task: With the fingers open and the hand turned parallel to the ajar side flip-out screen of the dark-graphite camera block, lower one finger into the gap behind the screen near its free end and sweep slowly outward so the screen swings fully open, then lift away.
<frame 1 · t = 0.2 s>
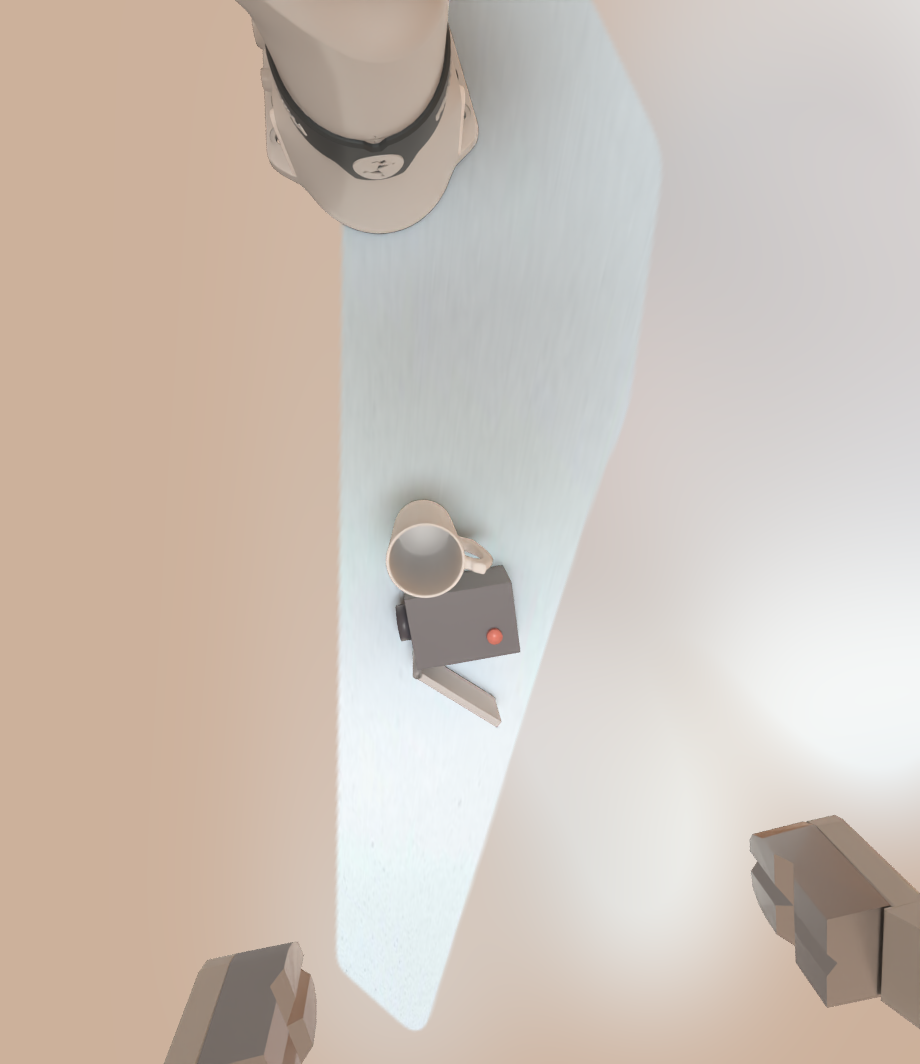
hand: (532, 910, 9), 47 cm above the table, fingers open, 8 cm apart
mug: (437, 530, 56), on the table
side flip-out screen: (455, 687, 58), point 3 cm above the table, hinge at 45.0°
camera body: (459, 606, 58), on the table
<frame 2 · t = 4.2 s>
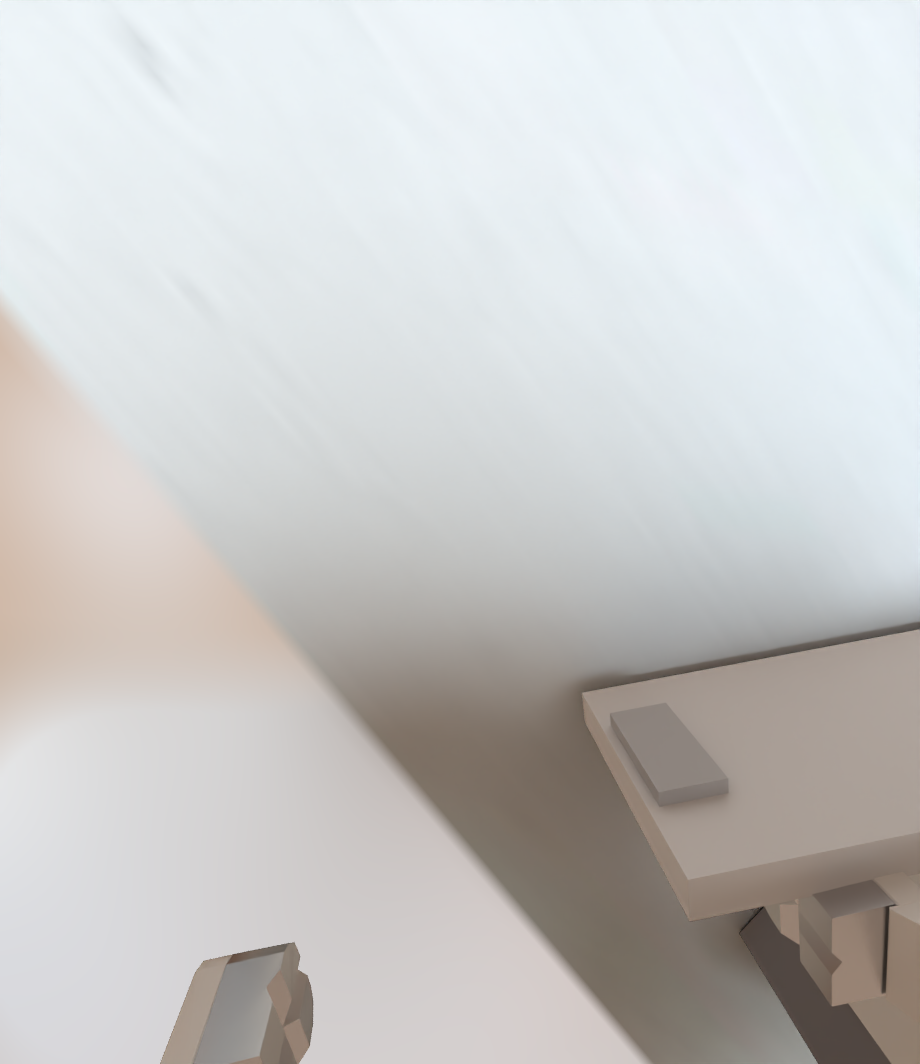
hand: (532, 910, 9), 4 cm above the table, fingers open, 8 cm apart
side flip-out screen: (910, 720, 10), point 3 cm above the table, hinge at 47.0°, touching gripper
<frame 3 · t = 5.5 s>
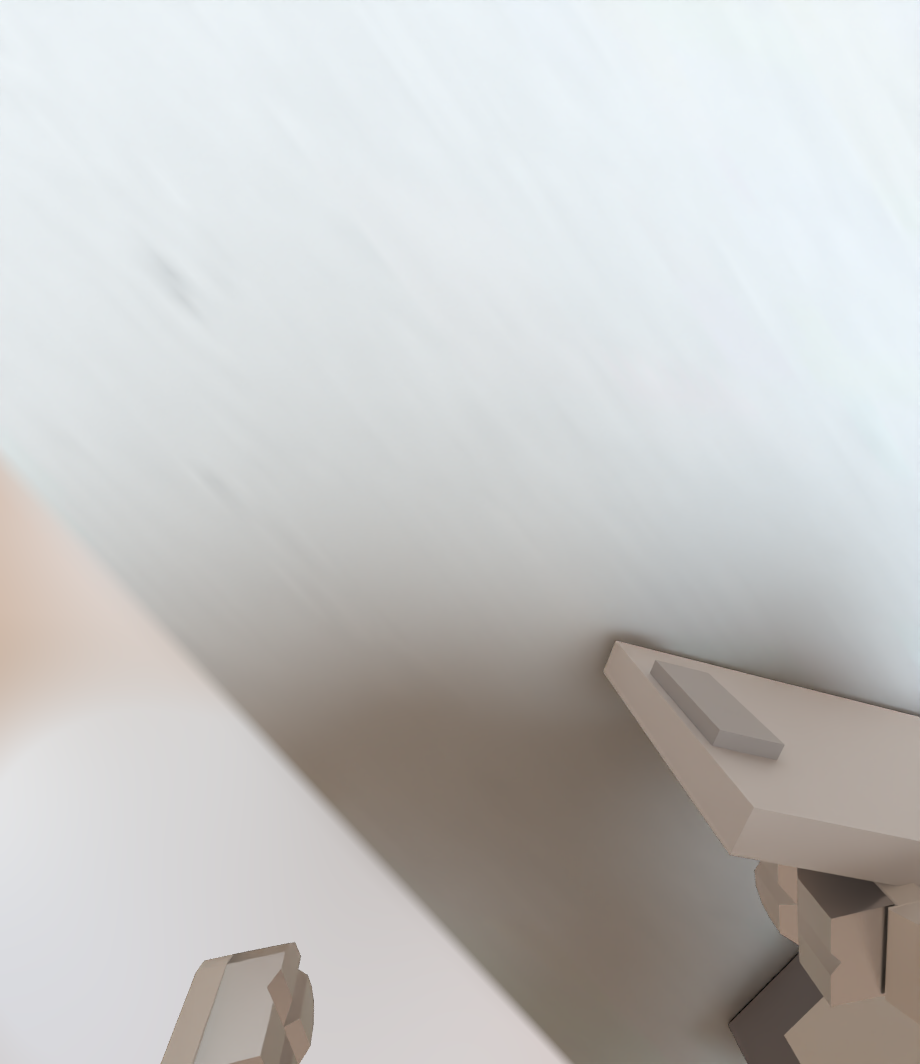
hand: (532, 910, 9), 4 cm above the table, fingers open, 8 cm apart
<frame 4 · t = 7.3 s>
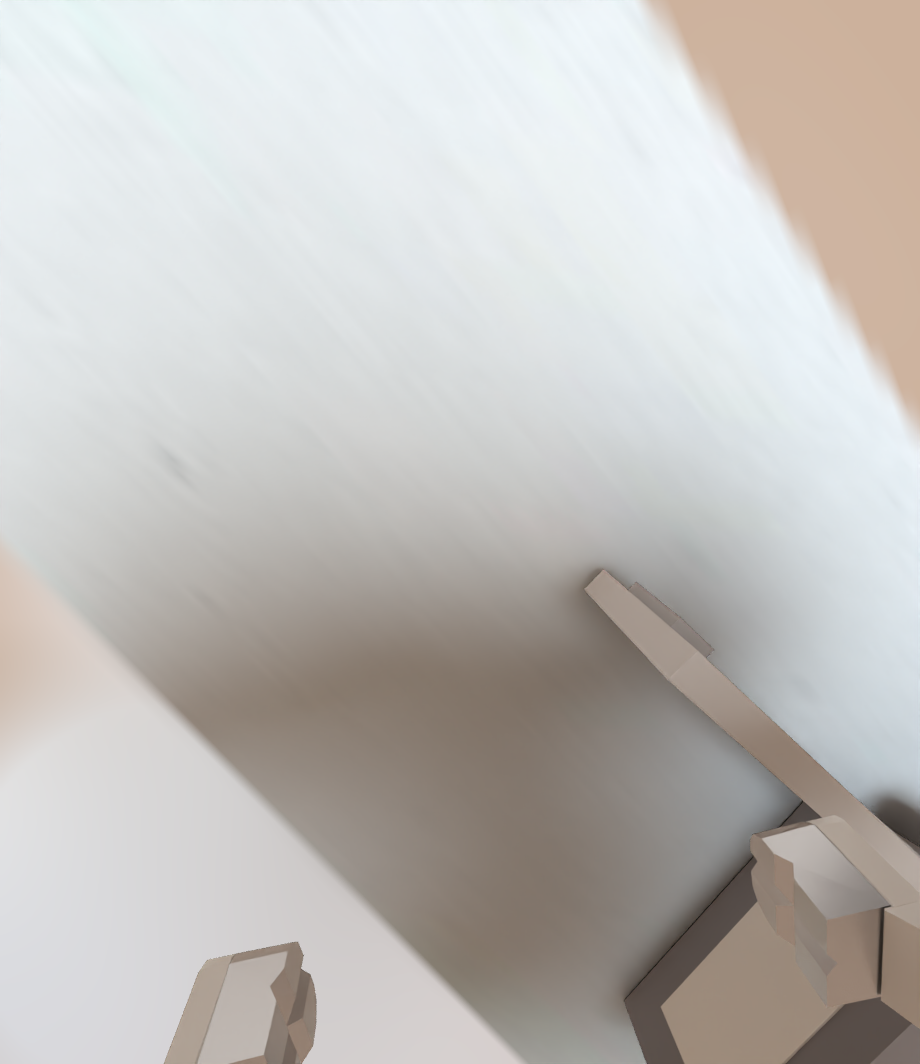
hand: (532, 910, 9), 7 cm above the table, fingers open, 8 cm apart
side flip-out screen: (774, 741, 14), point 3 cm above the table, hinge at 98.5°
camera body: (791, 935, 19), on the table
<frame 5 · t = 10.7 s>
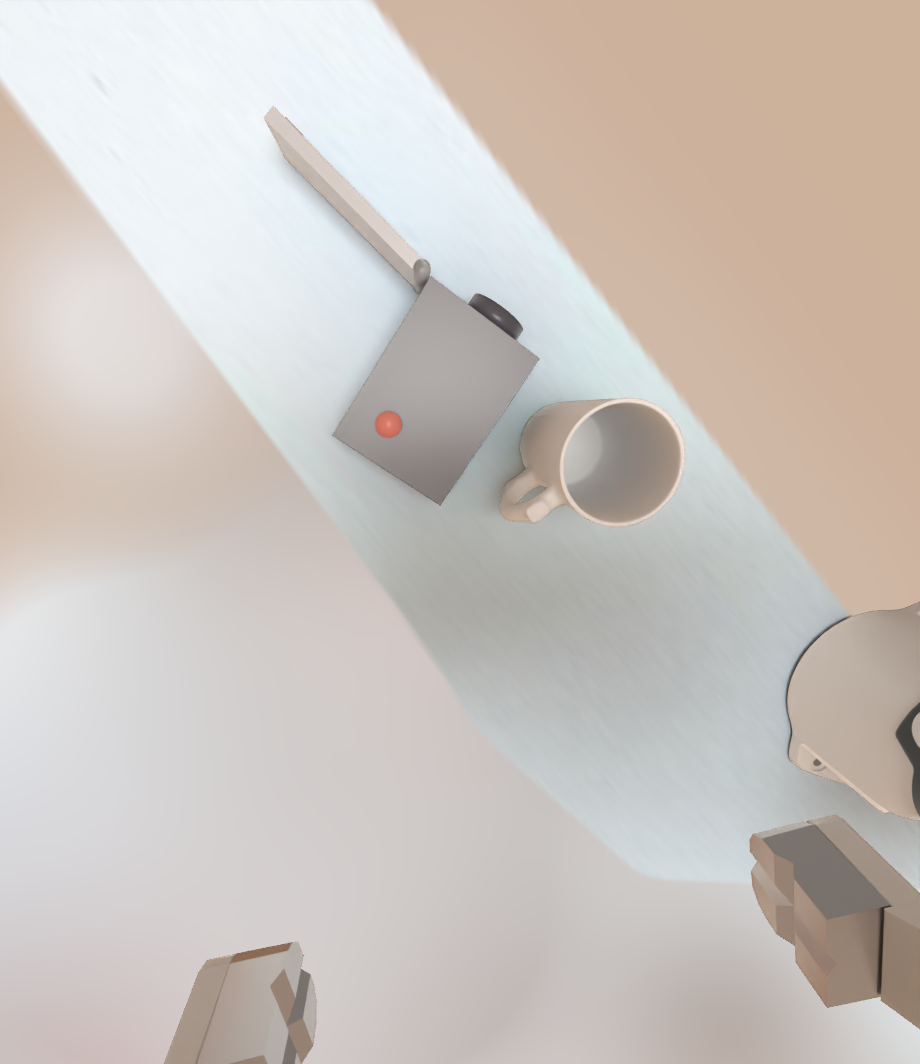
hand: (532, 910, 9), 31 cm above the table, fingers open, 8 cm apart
mug: (541, 456, 39), on the table
side flip-out screen: (357, 210, 31), point 3 cm above the table, hinge at 98.6°
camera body: (432, 397, 37), on the table
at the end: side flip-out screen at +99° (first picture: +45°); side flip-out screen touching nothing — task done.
